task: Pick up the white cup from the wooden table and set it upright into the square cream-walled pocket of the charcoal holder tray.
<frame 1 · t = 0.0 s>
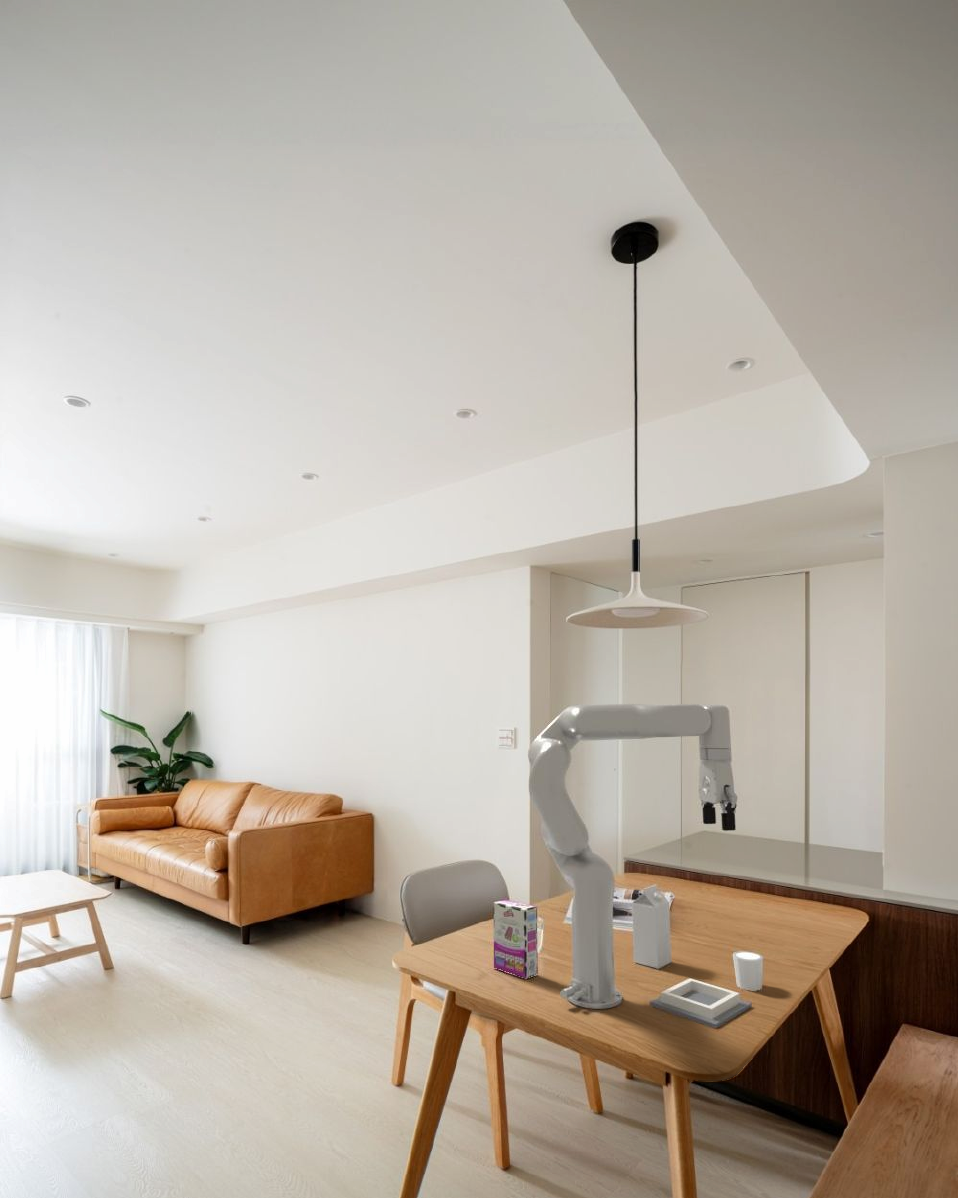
hand: (719, 827, 175), 37 cm above the table, tool pointing down, fingers open, 9 cm apart
white cup: (749, 987, 172), on the table
holder tray: (700, 1006, 160), on the table
milk carton: (652, 963, 188), on the table
candy bar box: (515, 973, 181), on the table
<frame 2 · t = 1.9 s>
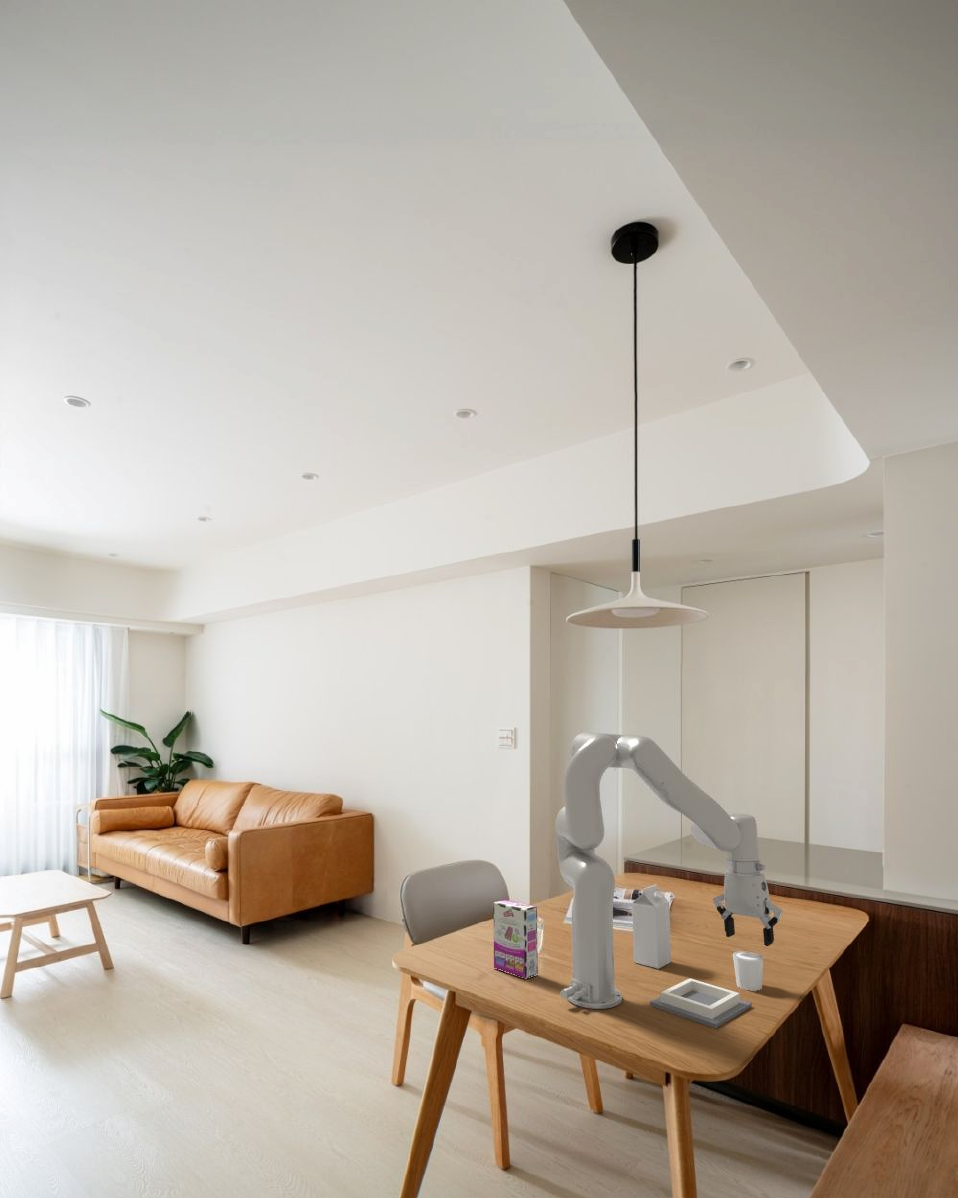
hand: (749, 940, 173), 10 cm above the table, tool pointing down, fingers open, 9 cm apart
nothing on the table moved.
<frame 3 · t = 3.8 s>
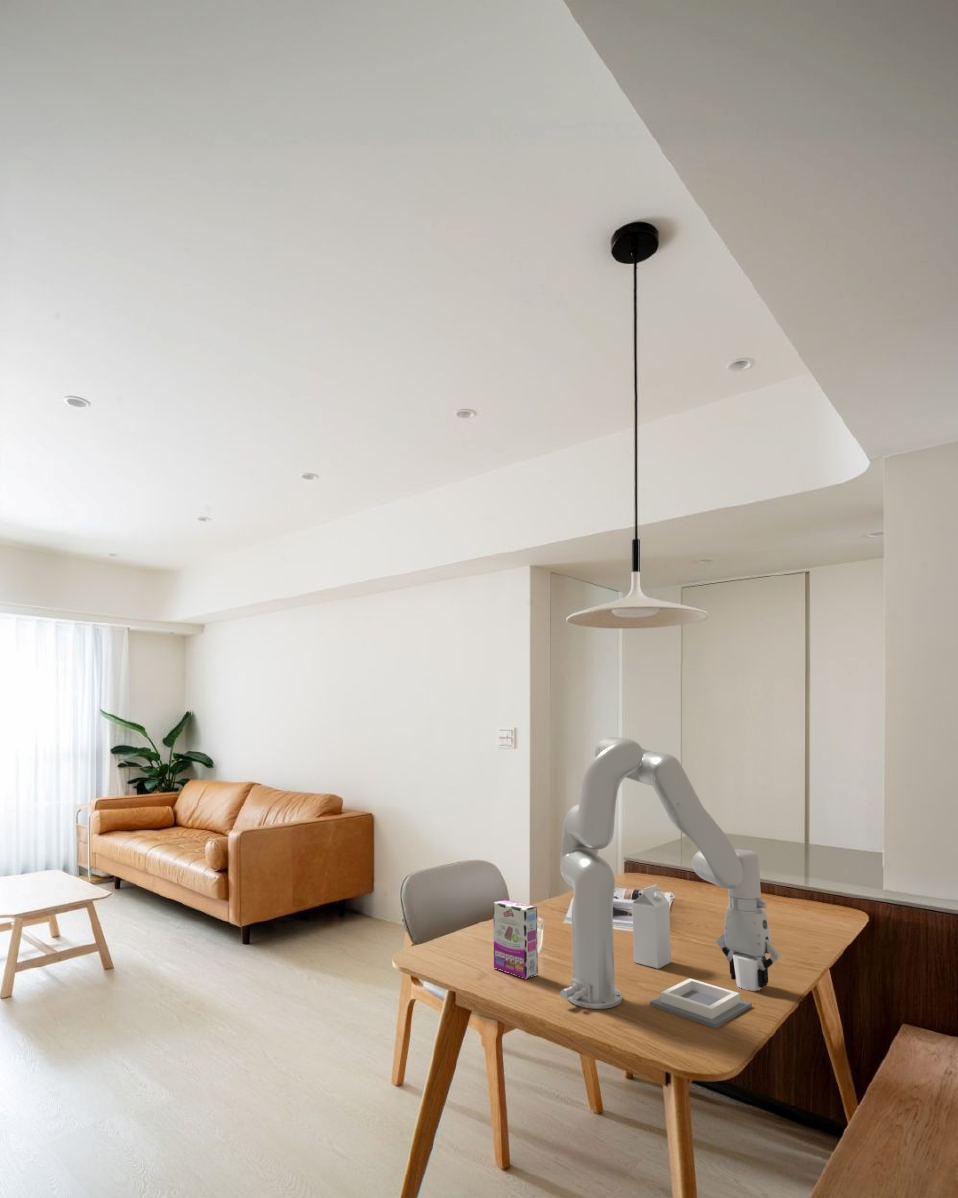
hand: (749, 981, 172), 1 cm above the table, tool pointing down, fingers closed on white cup, 6 cm apart
white cup: (749, 987, 172), on the table, touching gripper
everything else where it was.
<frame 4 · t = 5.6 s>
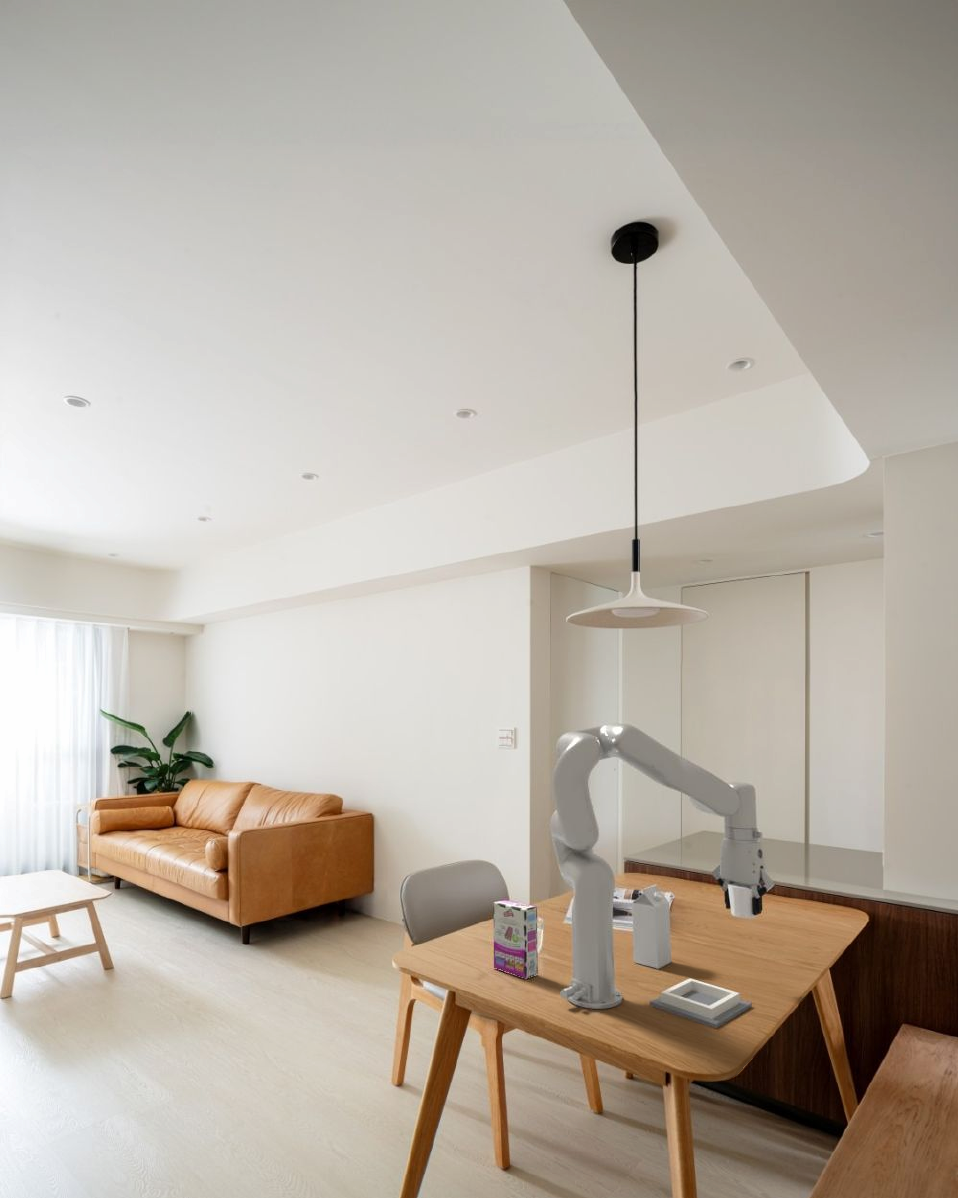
hand: (743, 910, 174), 17 cm above the table, tool pointing down, fingers closed on white cup, 6 cm apart
white cup: (743, 916, 174), point 16 cm above the table, touching gripper
everything else where it was.
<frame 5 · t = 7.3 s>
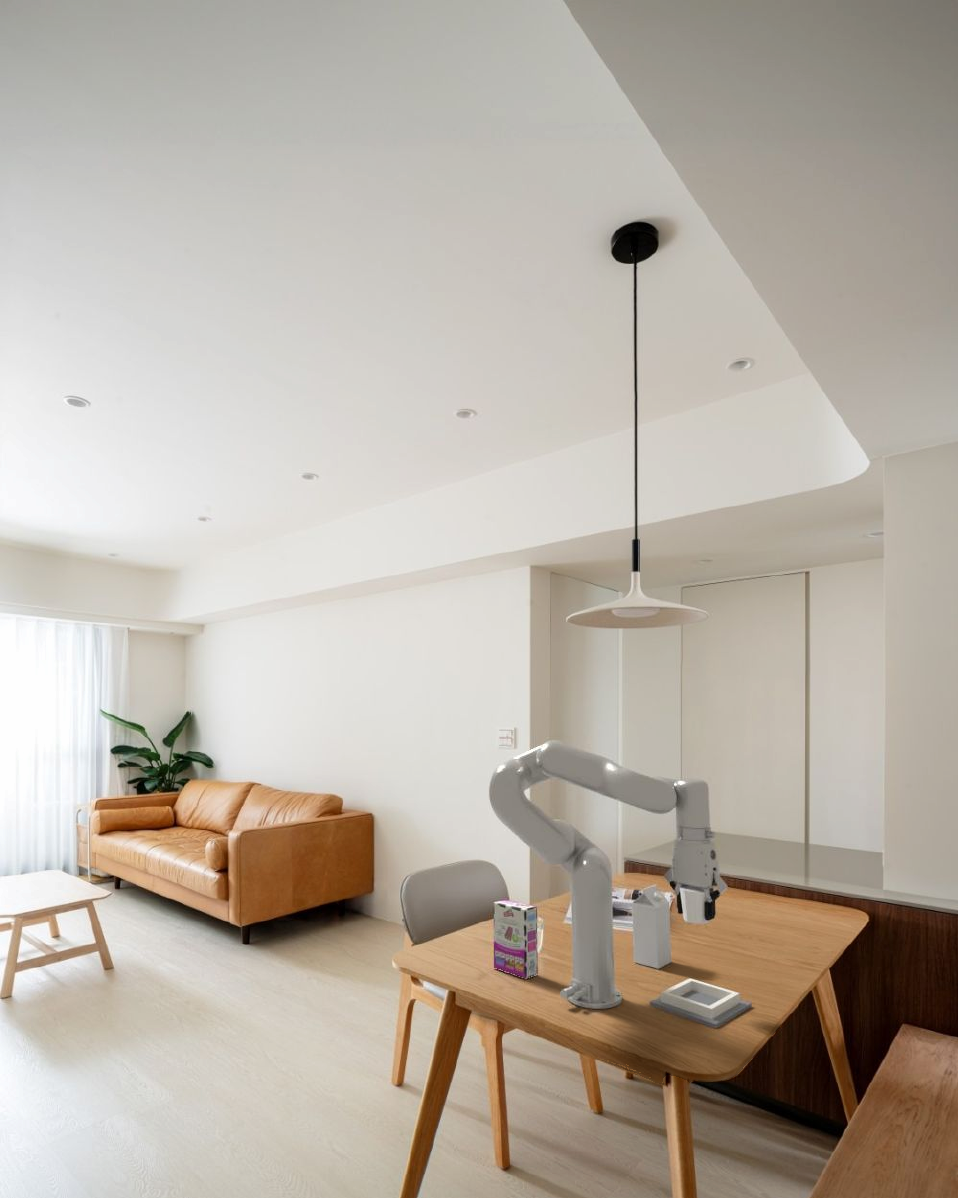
hand: (696, 915, 163), 19 cm above the table, tool pointing down, fingers closed on white cup, 6 cm apart
white cup: (696, 921, 163), point 18 cm above the table, touching gripper
everything else where it was.
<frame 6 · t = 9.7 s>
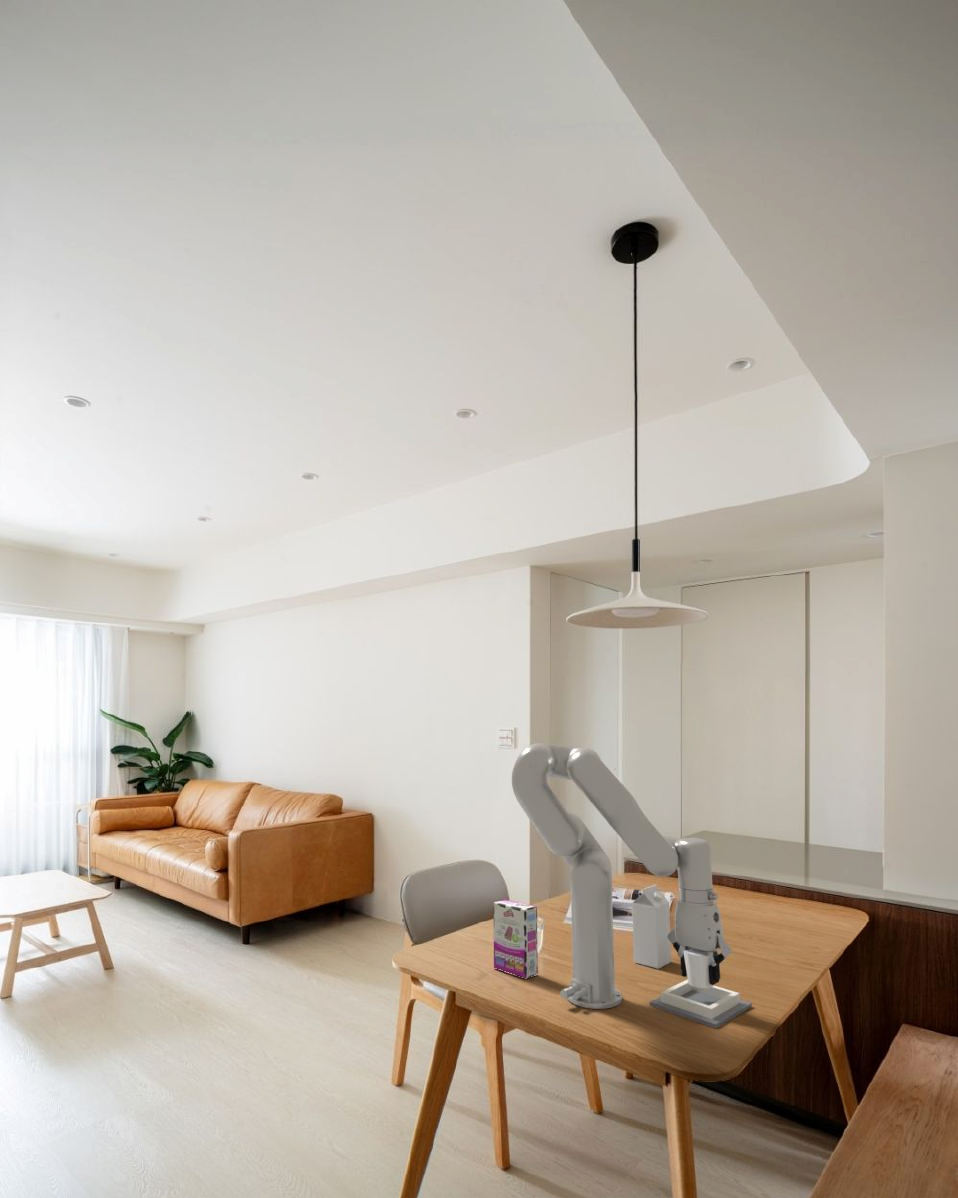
hand: (700, 978, 161), 6 cm above the table, tool pointing down, fingers closed on white cup, 6 cm apart
white cup: (701, 984, 161), point 5 cm above the table, touching gripper
everything else where it was.
when the fingers open (4 cm above the table, at t = 11.1 s): white cup drops 2 cm, resting on holder tray.
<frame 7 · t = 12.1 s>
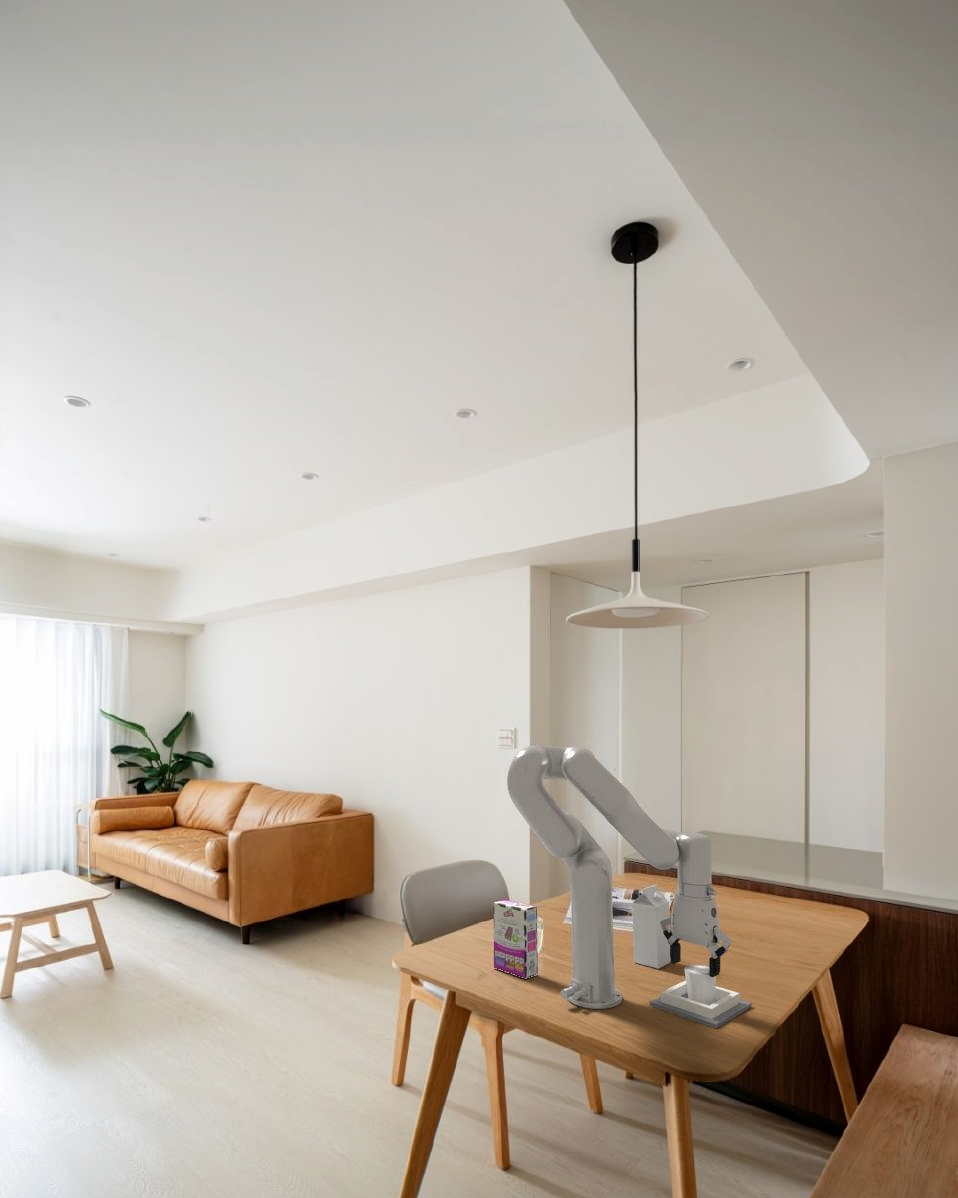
hand: (694, 969, 162), 8 cm above the table, tool pointing down, fingers open, 9 cm apart
white cup: (702, 1003, 160), point 1 cm above the table, touching holder tray
everything else where it was.
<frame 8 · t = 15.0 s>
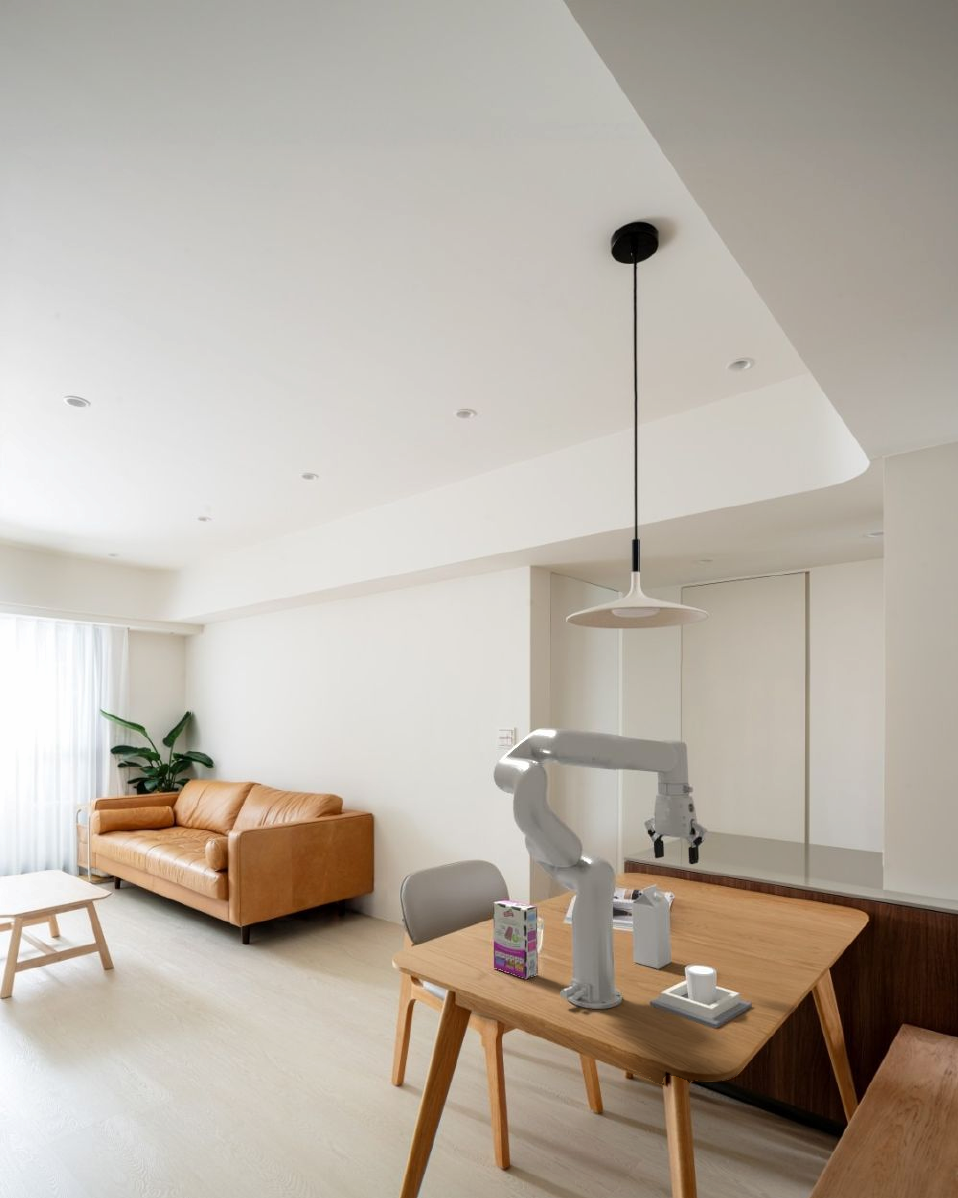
hand: (676, 860, 179), 28 cm above the table, tool pointing down, fingers open, 9 cm apart
nothing on the table moved.
at the end: white cup 0.4 cm off-centre on the holder tray, point 0.6 cm above the holder tray's base; white cup tilted 0°; the gripper is holding nothing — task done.
